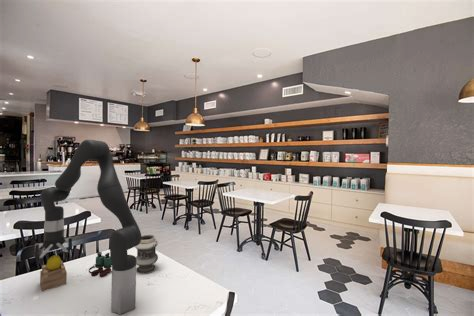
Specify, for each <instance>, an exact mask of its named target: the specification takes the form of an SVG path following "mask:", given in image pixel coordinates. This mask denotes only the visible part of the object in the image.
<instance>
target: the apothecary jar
mask: <svg viewBox="0 0 474 316" xmlns="http://www.w3.org/2000/svg"><path fill="white" fill-rule="evenodd" d="M158 243H159V242H158V240H157V239H156V236H155V235H154V234H143V235H141V242H140V244H139V245H137V246H135V247H134V248H135V249H136V252H137V253H136V256H135V257H136V266H138V267H136V273H139V274H149V273H152V272H153V271H155V270H156V268H157V267H156V265H155V264H156V262H157V261H158V259H159V256H158V254H157V253H156V252H157V251H156V247H157V246H158V245H159V244H158Z"/></svg>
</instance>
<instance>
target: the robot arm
mask: <svg viewBox="0 0 474 316" xmlns="http://www.w3.org/2000/svg"><path fill="white" fill-rule="evenodd" d="M112 156H113V155H112V153H111V149H110V147H109V144H108V143H106V142H105V141H103V140H96V139H84V140H82V142H80V144H79V145H78V146H77V148H76V150H75V152H74V154H73V156H72V157H71V159H70V161H69V163H68V165H67V167H65V169H64V171H63V172H62V173H61V174H60V175H59V177H58V178H56V180H55V181H54V186H53V187H47V188H44V189H43V190H42V191H41V193H40V202H41V203H42V206H43V210H44V225H43V242H40V243H38V242H36V243H35V244H34V252H33V256H34V258H35V259H36V258H38V263H39V265H40V266H41V267H42V266H43V265H44V256H45V255H46V254H47V253H48V252H49V251H50V252H52V251H58V250H59V249H61V250H62V252H63V254H62V255H63V260H64V261H65V260H66V259H68V253H69V251H72V250H73V238H72V237H71V236H68V237H67V238H65V221H64V220H65V219H64V218H65V216H64V214H65V212H64V211H65V210H64V207H63V206H59V205H57V206H56V205H55V203H57V202H62V201H65V200H66V199H67V198H68V197H69V196H70V193H71V190H72V189H73V187H74V186H75V184H77V182H78V181H79V180H80V178H81V175H82V166H83V165H84V164H85V163H86V162H88V161H92V162H93V161H95V162H97V164H98V166H99V170H100V171H99V172H100V175H99V179H98V182H97V187H96V189H97V193H98V196H99V200H100V203H101V204H102V206H104V208H106V209H107V210H108V211H109V212H111V213H112V214H113V215H115V217H116V218H117V219H118V220H119V222H120V224H121V227H122V228H117V229H116V230H113V232H112V233H111V235H110V238H109V251H110V252H109V253H110V255H109V256H110V259H111V263H112V267H111V291H110V294H111V295H110V296H111V298H110V301H111V302H110V310H111V312H112V313H113V314H118V315H119V316H121V315H122V314H125V313H127V312H129V311H132V310H134V309H136V301H137V300H136V297H137V296H136V295H137V294H136V293H137V291H136V289H137V286H136V285H137V264H136V256H135V255H132V254H128V251H129V250H131V249H133V248H135V246H137V245H139V244H140V242H141V236H142V233H141V229H140V227H139V225H138V224H137V221H136V219H135V217H134V216H133V213H132V211H131V209H130V206H129V204H128V202H127V199H126V195H125V193H124V189H123V187H122V185H121V182H120V179H119V177H118V174H117V171H116V168H115V165H114V161H113V160H114V159H113V157H112ZM65 242H66V243H67V244H68V245H67V246H68V247H66V246H65V245H63V244H64V243H65ZM41 247H43V249H42V250H41V252H40V253H39V251H40V249H41Z"/></svg>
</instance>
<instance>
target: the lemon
mask: <svg viewBox="0 0 474 316" xmlns="http://www.w3.org/2000/svg"><path fill="white" fill-rule="evenodd" d="M46 261H47V262H46V264H45V265H46V266H47V269H48V270H49V271H55V270H57V269H58V268H59V267H60V265H61V261H62V259H61V257H60V256H59V255H58V254H57V255H56V254H53V255H52V256H50V257H49V258H48V259H47V260H46Z"/></svg>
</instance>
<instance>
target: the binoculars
mask: <svg viewBox="0 0 474 316" xmlns="http://www.w3.org/2000/svg"><path fill="white" fill-rule="evenodd" d="M102 254H103V253H102V252H101V251H97V256H96V257H95V264H93V265H92V266H90V267H89V268H88V273H89V274H91V275H90V276H91V277H97V276H99V277H100V278H103V277H105V276H107V274H108V273H110V272H112V263H111V259H110V252H106V253H105V254H104V255H102ZM93 269H94V270H93ZM91 270H93V271H91Z"/></svg>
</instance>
